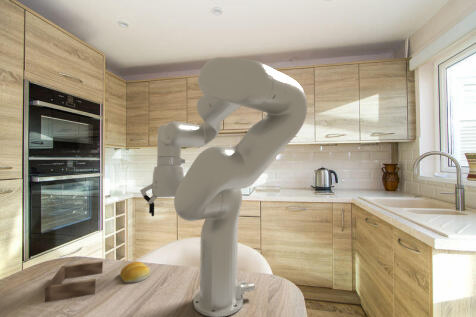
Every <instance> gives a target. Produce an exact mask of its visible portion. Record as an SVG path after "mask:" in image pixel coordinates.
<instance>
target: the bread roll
mask: <svg viewBox="0 0 476 317" xmlns="http://www.w3.org/2000/svg"><path fill="white" fill-rule="evenodd" d="M119 274H120V278H121V279H122V281H123V282H124V283H128V284H130V283H131V284H132V283H133V284H134V283H139V282H142V281H144V280H146V279H147V278H149V276H150V274H151V269H150V268H149V266H147V265H146V264H145V263H143V262H141V261H132V262H130V263H128V264H126V265H125V266H124V267H123V268H122V269H121V271H120V272H119Z"/></svg>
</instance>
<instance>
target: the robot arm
mask: <svg viewBox="0 0 476 317" xmlns="http://www.w3.org/2000/svg"><path fill="white" fill-rule="evenodd" d="M197 82H198V87H199V90H200V91H201V92H202V93H203V95H201V97H199V99H197V102H196V111H197V112H198V115H199V116H200V118H201V119H202V121H203V122H202V123H200V124H196V123H190V122H184V121H183V122H182V121H174V120H172V121H169V122H168V123H166V124H162V125H159V127H158V128H157V150H156V151H157V152H156V158H157V159H156V166H154V168H153V172H152V182H151V184H149V185H147V186H144V187H143V188H141V189H140V191H139V192H140V193H141V195H142V197H143V199H144V200H145V201H147V203H148V204H149V206H148V212H149V214H151V217H154V216H155V203H154V202H155V201H156V199H158V198H173V206H174V210H175V212H176V214H177V216H179V217H180V218H181V219H182V220H184V221H188V222H194V221H202V220H204V222H203V223H202V227H201V232H200V250H199V252H200V256H199V257H200V258H199V260H200V261H199V265H200V267H199V291H197V293H196V294H195V295H194V297H193V307H194V309H195V310H196V312H198V313H199V314H201V315H203V316H206V317H227V316H231V315H233V314H235V313H237V312H238V311H239V310H241V308H242V307H243V304H244V296H243V295H244V293H247V292H248V293H250V292H253V291H255V290H256V288H255V283H254V282H249V283H247V281H246V280H245V279H244V280H240V281H238V251H239V250H238V248H239V247H238V245H239V244H238V242H239V241H238V240H239V239H238V238H239V221H240V219H239V218H240V213H241V207H242V203H243V202H242V201H243V194H242V189H246V188H249V187H251V186H252V185H254V184H255V183H256V181H257V180H258V179H259V178H260V177H261V176H262V174H263V173H264V172H265V171H266V170H267V168H269V166H270V165H271V164H272V163H273V162H274V160H275V159H276V158H277V157H278V155H279V154H281V153H282V151H283V150H284V149H285V148H286V146H288V145H289V143H291V142H292V140H294V139H295V137H296V136H297V134H298V133H299V132H300V130H301V128H302V127H303V125H304V123H305V121H306V117H307V113H308V100H307V99H308V98H307V96H306V93H305V91H304V89H303V87H302V86H301V85H300V83H298V82H297V81H296V80H295V79H293V78H292V77H290V76H288V75H287V74H284V72H283V73H282V72H280V71H278V70H277V69H274V68H272V67H271V66H268V65H267V64H264V63H262V62H260V61H257V60H254V59H249V58H232V57H221V56H218V57H214V58H211V59H209V60H208V61H207V62H206V63H204V65H203V66H202V67H201V69H200V70H199V73H198V78H197ZM241 107H244V108H247V109H253V110H256V111H259V112H263V113H266V116H264V117H263V118H262V119H260V120H258V121H257V122H256V123H254V124H253V125H252V126H251V127H249V129H248V130H247V131H246V133H245V134H244V136H243V137H242V138H241V140H239V142H238V143H237V144H236V145H234V146H211V147H208V148H206V149H203V151H201V152H200V153H199V154H198V155H197V156H196V158H195V159H194V161H193V162H192V164H191V165H190V167H189V169H188V170H187V172H186V173H185V174H184V168H183V166H182V165H183V164H185V163H186V159H183V158H182V156H181V155H182V154H181V153H182V147H183V148H185V147H186V148H195V149H196V148H197V149H198V148H202V147H205V146H207V145H208V144H210V143H211V142H212V141H214V140H215V139H216V138H218V135H219V133H220V131H221V127H222V122H223V121H224V120H226V118H229V117H230V116H231V115H232V114H233V113H235V112H236V111H237V110H238V109H240V108H241ZM150 190H151V194H152V195H151V197H149V195H148V194H147V192H148V191H150Z"/></svg>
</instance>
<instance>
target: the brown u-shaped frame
mask: <svg viewBox="0 0 476 317" xmlns="http://www.w3.org/2000/svg"><path fill="white" fill-rule="evenodd" d="M103 267H104V264H103V260H99V261H94V262H93V261H92V262H84V263H83V262H82V263H76V264H75V263H74V264H69V265H68V264H67V265H62V266H61V267H60V268H59V269H58V271H57V272H56V273H55V274H54V276H52V278H51V280H49V282H48V284H47V285H46V286H45V288H44V303H48V302H54V301H59V300H65V299H69V298H76V297H83V296H89V295H95V294H96V283H97V282H96V278H93V279H86V280H79V281H74V282H71V281H70V282H66V283H65V282H64V281H65V280H66V279H70V278H78V277H83V276H84V277H85V276H92V275H97V274H103V272H104V271H103ZM63 282H64V283H63Z"/></svg>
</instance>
